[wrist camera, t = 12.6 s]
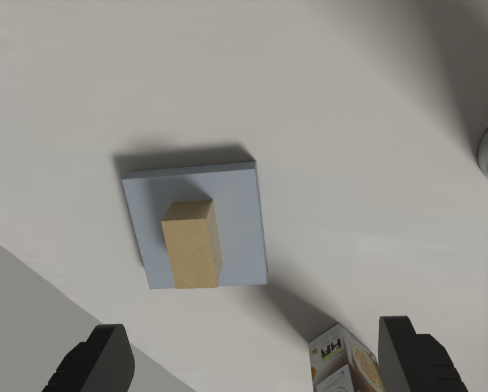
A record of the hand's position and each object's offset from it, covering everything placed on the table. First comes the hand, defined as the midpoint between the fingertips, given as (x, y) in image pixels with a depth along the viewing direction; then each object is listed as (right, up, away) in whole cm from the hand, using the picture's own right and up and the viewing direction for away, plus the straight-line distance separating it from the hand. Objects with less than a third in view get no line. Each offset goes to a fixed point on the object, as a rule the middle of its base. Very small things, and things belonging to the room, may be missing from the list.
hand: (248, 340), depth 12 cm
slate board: (-6, +1, +37) cm, 38 cm away
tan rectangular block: (-6, 0, +35) cm, 35 cm away
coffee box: (+15, -19, +44) cm, 50 cm away
